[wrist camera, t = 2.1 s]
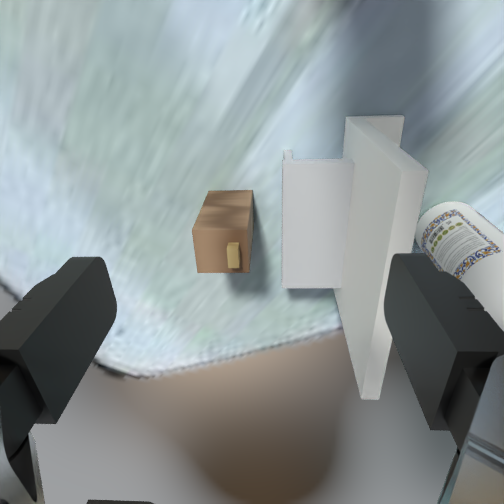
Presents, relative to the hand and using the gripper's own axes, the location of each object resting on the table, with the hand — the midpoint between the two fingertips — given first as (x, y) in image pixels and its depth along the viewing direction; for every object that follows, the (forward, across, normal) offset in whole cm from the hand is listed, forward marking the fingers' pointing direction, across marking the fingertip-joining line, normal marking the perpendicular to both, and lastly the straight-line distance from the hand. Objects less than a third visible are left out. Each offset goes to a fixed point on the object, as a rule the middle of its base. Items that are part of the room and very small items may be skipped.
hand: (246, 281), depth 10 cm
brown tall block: (+30, -4, -11) cm, 32 cm away
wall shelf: (+30, +8, -11) cm, 33 cm away
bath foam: (+30, +21, -13) cm, 39 cm away
